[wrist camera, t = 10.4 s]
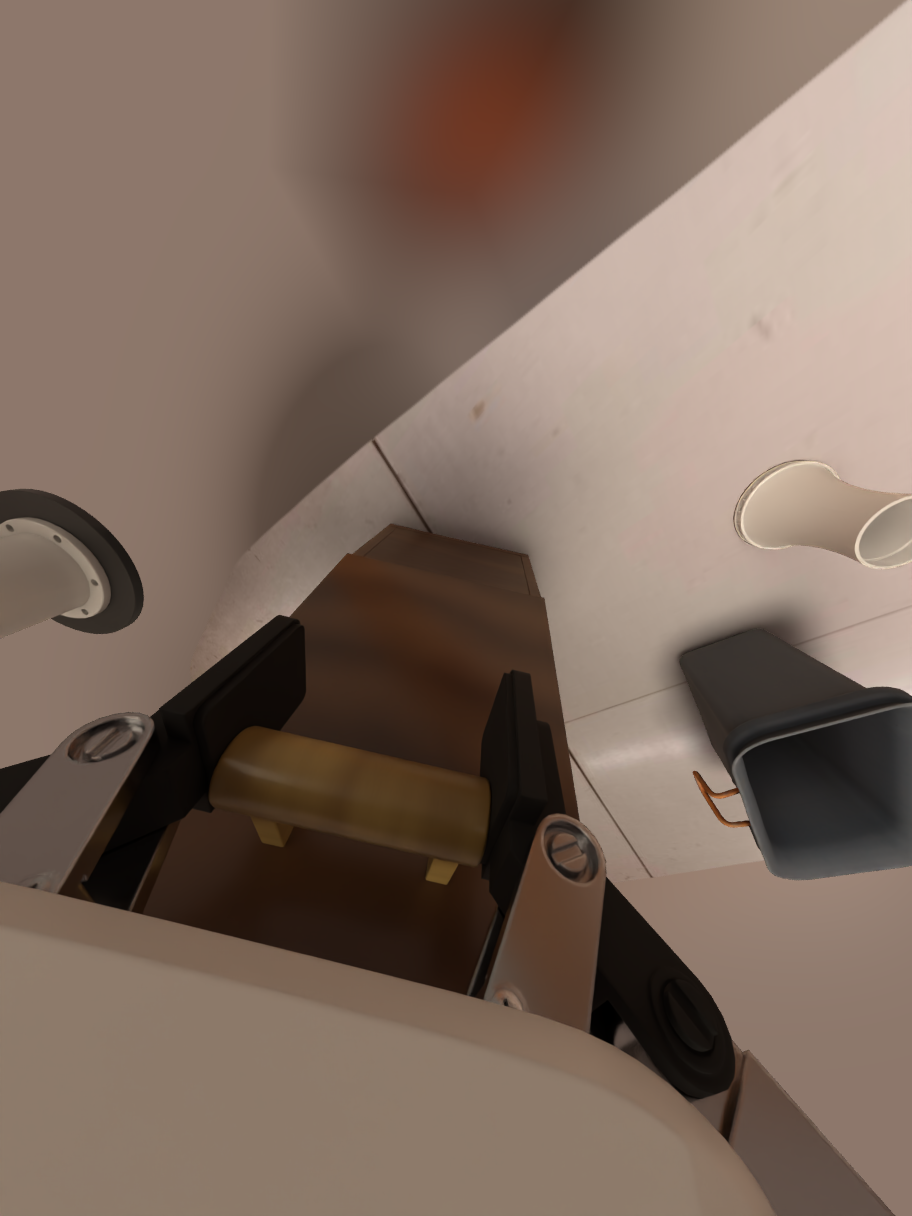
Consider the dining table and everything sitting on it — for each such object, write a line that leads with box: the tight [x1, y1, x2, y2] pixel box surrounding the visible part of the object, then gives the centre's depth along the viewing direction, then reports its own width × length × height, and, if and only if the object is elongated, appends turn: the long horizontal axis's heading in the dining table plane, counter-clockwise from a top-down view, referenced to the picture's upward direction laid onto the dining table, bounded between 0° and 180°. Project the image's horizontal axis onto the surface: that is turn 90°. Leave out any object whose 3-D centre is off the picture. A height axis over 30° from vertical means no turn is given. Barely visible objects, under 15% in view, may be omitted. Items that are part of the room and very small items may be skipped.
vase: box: [734, 461, 912, 569], centre depth 25 cm, size 8×8×10 cm
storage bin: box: [680, 629, 912, 880], centre depth 33 cm, size 21×16×14 cm
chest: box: [353, 524, 541, 597], centre depth 34 cm, size 19×15×11 cm
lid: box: [142, 553, 580, 995], centre depth 15 cm, size 20×15×6 cm
